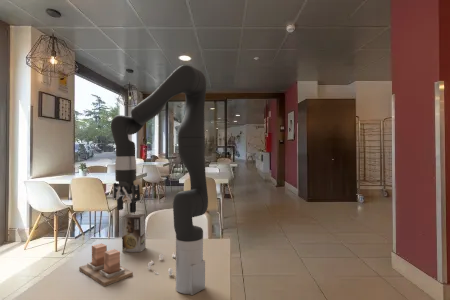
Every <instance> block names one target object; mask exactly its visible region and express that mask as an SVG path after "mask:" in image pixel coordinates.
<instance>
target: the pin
mask: <svg viewBox="0 0 450 300" xmlns="http://www.w3.org/2000/svg"><path fill="white" fill-rule="evenodd" d="M120 266H121V251H120V250H118V249H115V248H113V249H109V250H107V251H106V252H104V272H105V273H107V274H112V273H115V272H118V271H120Z"/></svg>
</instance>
